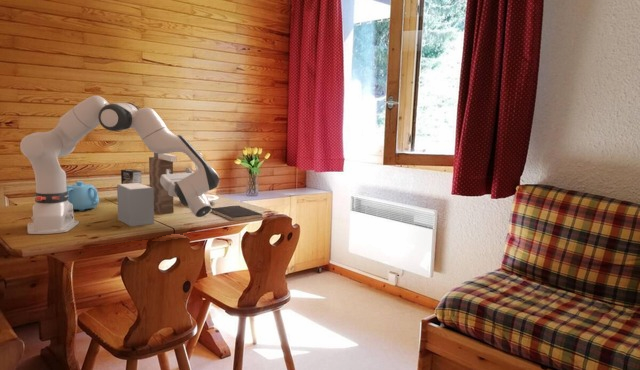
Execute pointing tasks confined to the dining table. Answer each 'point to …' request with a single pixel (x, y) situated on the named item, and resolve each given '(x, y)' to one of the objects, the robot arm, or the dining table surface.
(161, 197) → the walnut stand
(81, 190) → the decorative pot
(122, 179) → the coffee box
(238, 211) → the hardcover book
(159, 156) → the marker
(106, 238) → the dining table surface
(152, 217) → the paper box
